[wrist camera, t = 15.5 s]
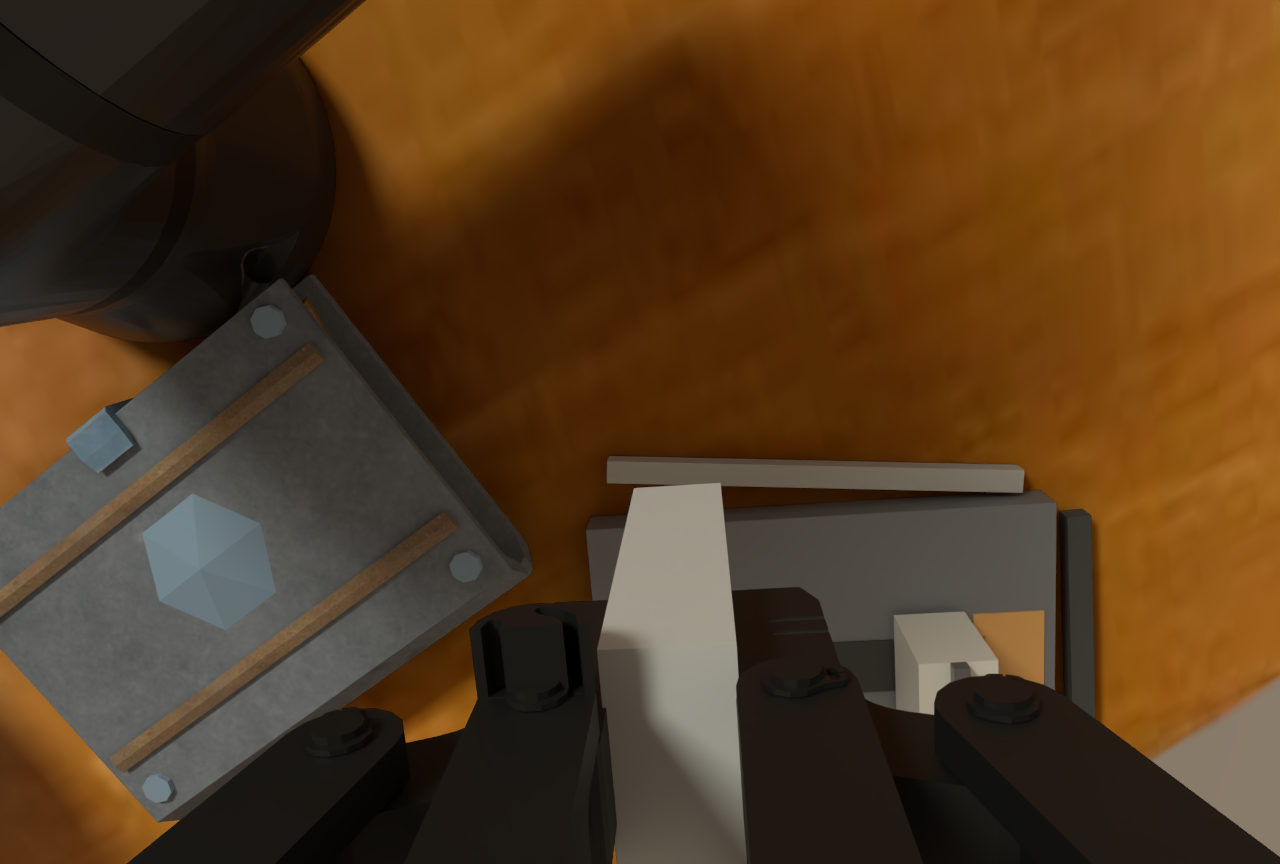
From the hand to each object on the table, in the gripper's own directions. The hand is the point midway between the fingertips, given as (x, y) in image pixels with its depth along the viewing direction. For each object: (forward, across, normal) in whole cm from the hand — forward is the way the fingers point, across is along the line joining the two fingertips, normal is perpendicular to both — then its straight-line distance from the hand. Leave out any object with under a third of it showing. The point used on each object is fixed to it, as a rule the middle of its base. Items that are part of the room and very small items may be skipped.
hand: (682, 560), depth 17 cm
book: (+27, -21, -7) cm, 35 cm away
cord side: (+26, +16, -13) cm, 34 cm away
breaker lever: (+24, +10, -14) cm, 29 cm away
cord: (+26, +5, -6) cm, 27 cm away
